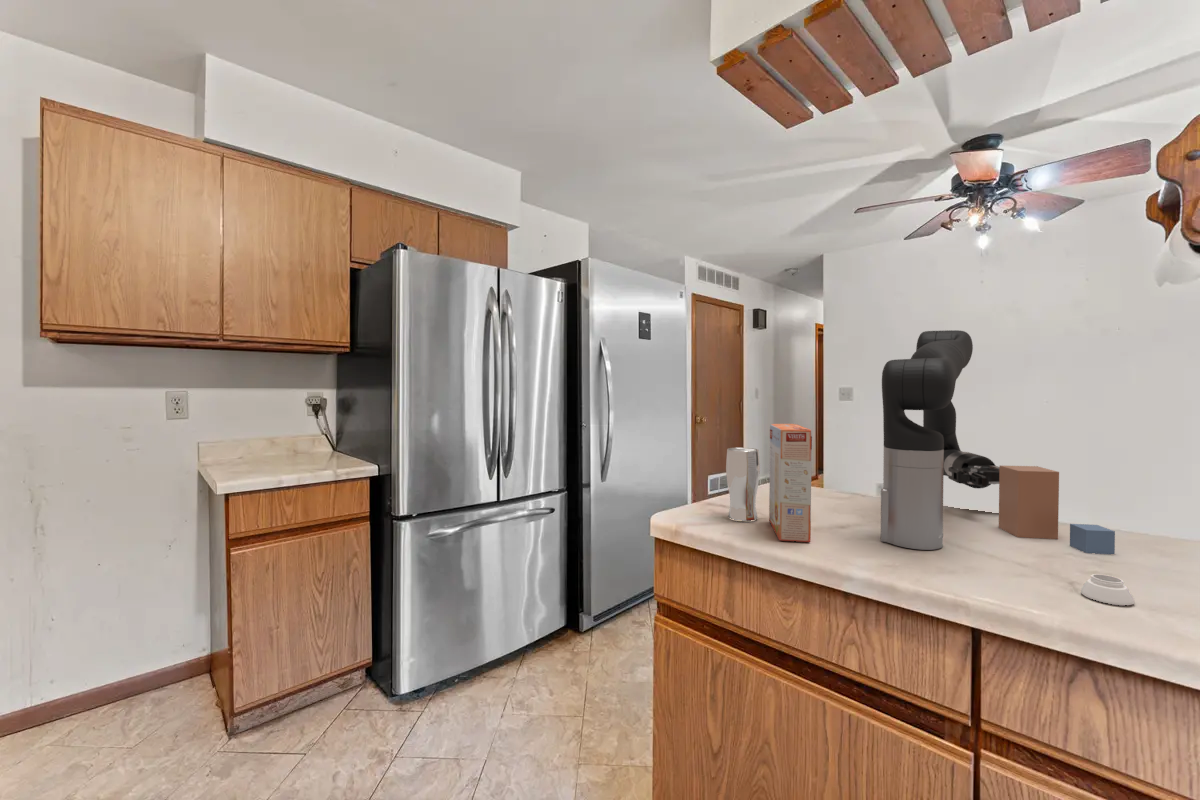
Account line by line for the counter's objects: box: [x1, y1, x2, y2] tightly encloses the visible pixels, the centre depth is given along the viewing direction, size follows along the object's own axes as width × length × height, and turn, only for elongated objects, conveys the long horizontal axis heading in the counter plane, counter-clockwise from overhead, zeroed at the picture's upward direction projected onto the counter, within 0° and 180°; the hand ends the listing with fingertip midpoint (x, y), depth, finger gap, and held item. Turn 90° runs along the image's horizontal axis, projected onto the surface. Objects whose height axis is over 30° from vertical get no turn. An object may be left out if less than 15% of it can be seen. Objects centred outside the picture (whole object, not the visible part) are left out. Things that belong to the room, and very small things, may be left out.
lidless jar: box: [1080, 573, 1135, 607], centre depth 67 cm, size 5×3×5 cm
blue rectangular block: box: [1069, 523, 1116, 555], centre depth 86 cm, size 4×4×4 cm
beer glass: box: [725, 447, 761, 521], centre depth 108 cm, size 7×7×15 cm
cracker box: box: [768, 423, 813, 543], centre depth 98 cm, size 14×6×21 cm, turn 168°
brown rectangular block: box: [998, 465, 1060, 540], centre depth 96 cm, size 6×6×12 cm
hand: (1008, 482), depth 102 cm, fingers open, 8 cm apart
